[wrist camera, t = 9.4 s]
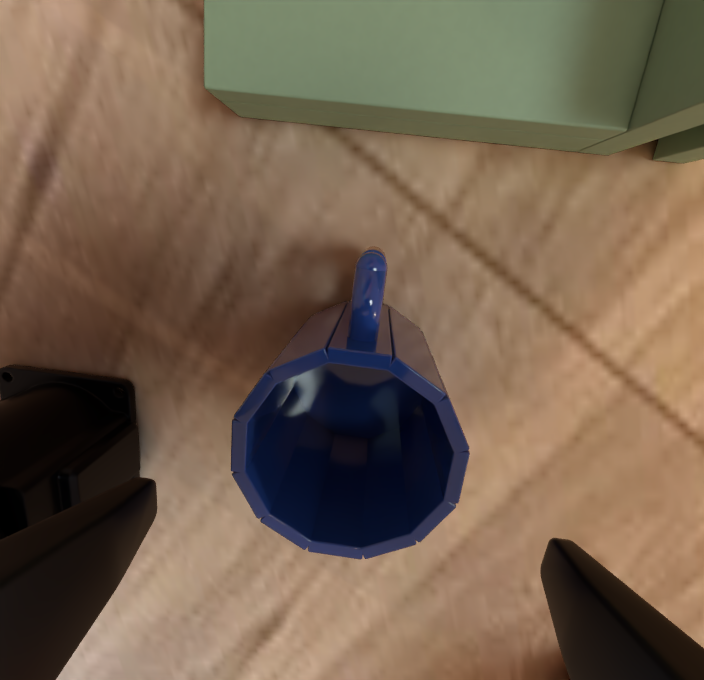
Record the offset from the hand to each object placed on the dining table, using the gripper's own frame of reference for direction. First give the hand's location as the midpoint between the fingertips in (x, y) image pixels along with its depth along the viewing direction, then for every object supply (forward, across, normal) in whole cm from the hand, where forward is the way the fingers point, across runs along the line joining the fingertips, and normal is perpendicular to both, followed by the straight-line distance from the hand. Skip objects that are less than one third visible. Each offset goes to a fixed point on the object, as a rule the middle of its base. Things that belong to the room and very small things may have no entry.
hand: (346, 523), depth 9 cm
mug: (+9, 0, -1) cm, 9 cm away
